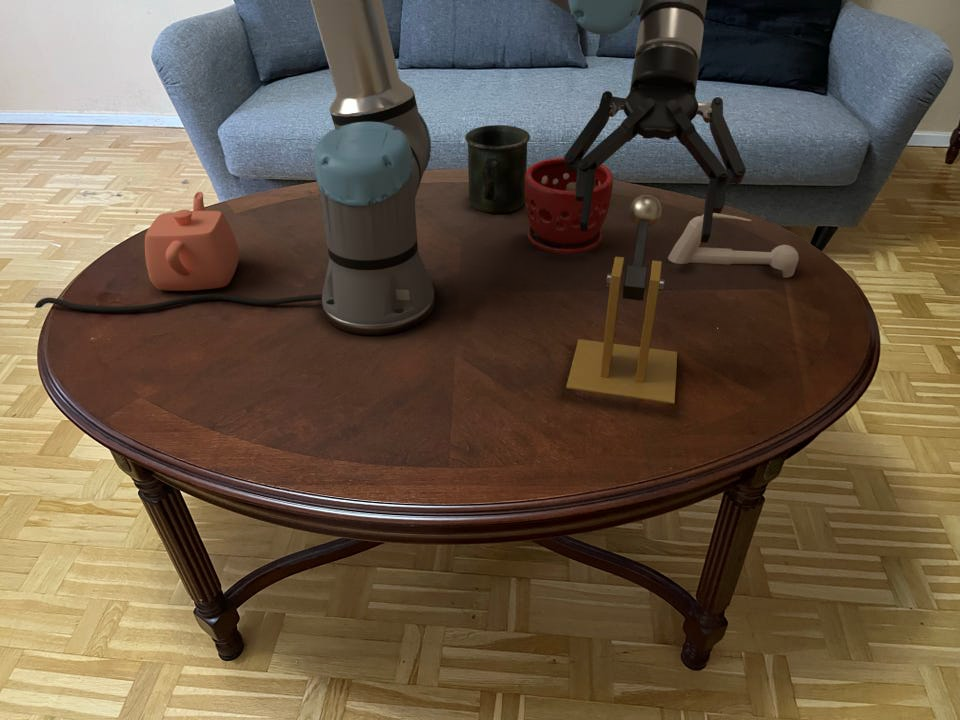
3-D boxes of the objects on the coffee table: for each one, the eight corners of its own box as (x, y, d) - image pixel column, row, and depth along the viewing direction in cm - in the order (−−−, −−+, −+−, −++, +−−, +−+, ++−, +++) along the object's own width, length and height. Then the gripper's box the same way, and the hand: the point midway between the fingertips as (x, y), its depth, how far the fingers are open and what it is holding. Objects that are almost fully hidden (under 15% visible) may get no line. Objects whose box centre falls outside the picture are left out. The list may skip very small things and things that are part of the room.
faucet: (777, 305, 106) (816, 250, 100) (668, 265, 105) (701, 206, 99) (772, 291, 109) (810, 237, 104) (666, 252, 108) (698, 195, 102)
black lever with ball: (630, 208, 84) (632, 186, 81) (661, 210, 83) (664, 189, 80) (615, 300, 78) (617, 282, 75) (649, 304, 78) (652, 285, 74)
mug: (531, 192, 130) (534, 126, 123) (520, 226, 119) (522, 155, 112) (473, 188, 132) (472, 123, 125) (456, 222, 120) (454, 152, 113)
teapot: (142, 308, 99) (119, 240, 93) (178, 249, 113) (160, 186, 107) (226, 305, 99) (209, 236, 93) (251, 246, 114) (237, 183, 108)
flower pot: (506, 240, 114) (507, 168, 107) (570, 220, 120) (575, 150, 113) (557, 273, 106) (562, 196, 99) (623, 249, 111) (632, 175, 104)
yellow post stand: (577, 348, 90) (586, 241, 81) (675, 361, 87) (695, 252, 79) (565, 397, 82) (573, 284, 73) (672, 413, 79) (694, 298, 71)
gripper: (771, 84, 85) (752, 254, 82) (563, 74, 90) (538, 233, 87) (785, 47, 78) (765, 231, 75) (559, 38, 83) (531, 211, 80)
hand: (643, 233), depth 81 cm, fingers open, 13 cm apart
